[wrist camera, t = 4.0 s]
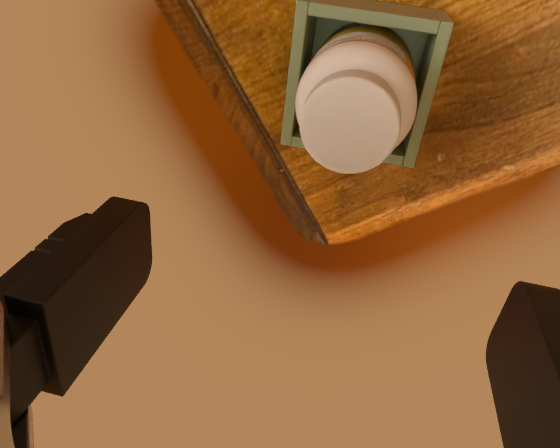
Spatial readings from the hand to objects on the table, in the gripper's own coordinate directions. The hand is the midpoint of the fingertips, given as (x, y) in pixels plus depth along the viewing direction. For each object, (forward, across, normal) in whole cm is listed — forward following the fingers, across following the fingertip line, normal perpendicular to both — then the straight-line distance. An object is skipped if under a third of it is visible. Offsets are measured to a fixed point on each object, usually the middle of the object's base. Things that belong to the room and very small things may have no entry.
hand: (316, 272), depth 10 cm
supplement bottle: (+20, 0, 0) cm, 20 cm away
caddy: (+20, 0, 0) cm, 20 cm away
